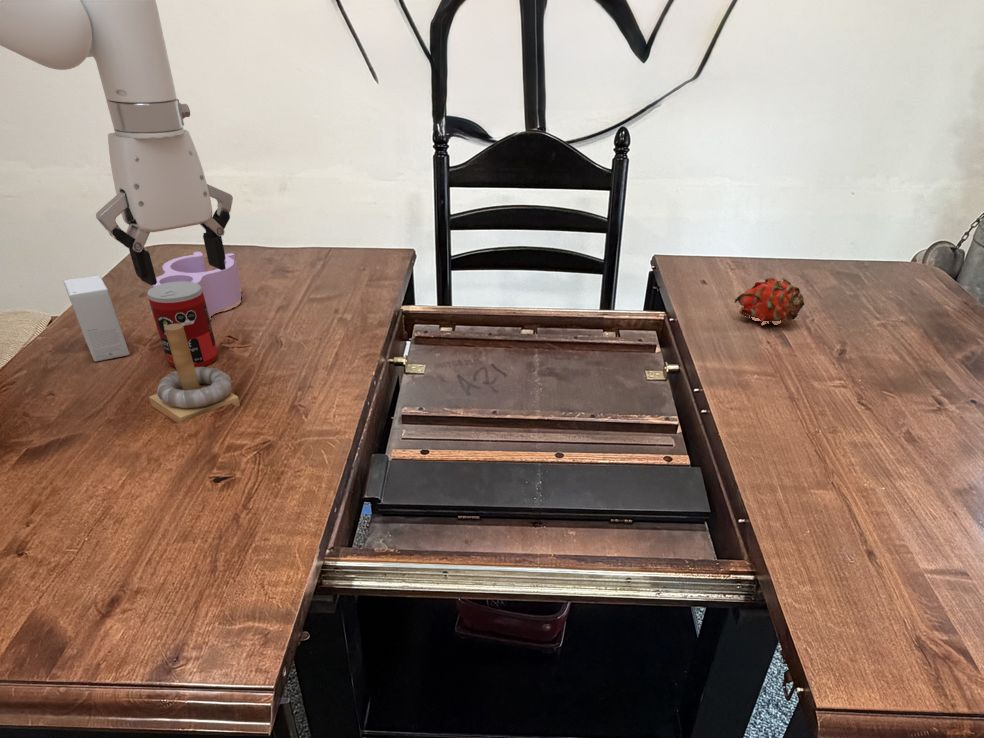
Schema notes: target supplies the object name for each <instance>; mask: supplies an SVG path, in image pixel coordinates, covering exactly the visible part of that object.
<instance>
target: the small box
mask: <svg viewBox="0 0 984 738" xmlns="http://www.w3.org/2000/svg"><path fill="white" fill-rule="evenodd" d="M62 281H63V282H62V283H63V286H64V287H65V290H66V292H67V295H68V298H69V301H70V303H71V307H72V308H73V311H74V314H75V317H76V319H77V322H78V324H79V327H80V330H81V333H82V336H83V338H84V341H85V343H86V345H87V348H88V350H89V353H90V356H91V357H92V360H93V362H96V363H97V362H101V361H107V360H111V359H115V358H121V357H122V358H123V357H127V356H130V355H131V353H130V351H129V348H128V347H129V346H128V344H127V342H126V338H125V336H124V333H123V330H122V326H121V324H120V321H119V318H118V315H117V313H116V310H115V306H114V303H113V300H112V297H111V294H110V291H109V289H108V287H107V285H106V283H105V282H104V280H103V278H102V276H101V275H92V276H91V275H90V276H86V277H77V278H71V279H65V280H62Z"/></svg>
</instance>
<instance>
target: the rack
mask: <svg viewBox="0 0 984 738" xmlns="http://www.w3.org/2000/svg"><path fill="white" fill-rule="evenodd" d="M164 329H165V333H166V336H167V339H168V343H169V346H170V350H171V353H172V356H173V360H174V363H175V367H176V368H175V367H174V368H175V370H176V371H177V373H178V377H179V380H180V384H181V387H182V388H181V389H179V390H195V389H201V388H204V387H207V386H210V385H208V384H199V382H198V378H197V375H196V371H195V367H194V364H193V360H192V356H191V353H190V349H189V345H188V342H187V338H186V335H185V331H184V327H183V325H182V324H169V325H167V326H165V327H164ZM148 399H149V402H150V405H151V407H152V408H154V409H155V410H157V411H158V412H159V413H161V414H163V415H165V416H166V417H167V418H169V419H170V420H171V421H173V422H175V423H176V424H179V423H182V422H184V421H188V420H190V419H191V418H195V417H198V416H201V415H203V414H206V413H208V412H211V411H214V410H218V409H219V408H222V407H226V406H228V405H231V404H232V405H233V406H235V407H237V408H239V407H241V403H240V399H239V396H238V395H236V394H234V393H233V392H232V391H231V392H230V394H229V395H227V396H226V397H225V398H224V399H223V400H221V401H220V402H217V403H214V404H211V405H208V406H205V407H197V408H180V407H173V406H170V405H168V404H167V403H165V402H164V401H162V400H161V399H160V398H159V397H158V395H157V393H156V394H152V395H149V396H148Z"/></svg>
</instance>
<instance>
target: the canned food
mask: <svg viewBox="0 0 984 738" xmlns="http://www.w3.org/2000/svg"><path fill="white" fill-rule="evenodd" d="M147 298H148V302H149V306H150V309H151V311H152V315H153V318H154V319H153V320H154V322H155V325H156V329H157V332H158V335H159V338H160V342H161V345H162V348H163V351H164V355H165V358H166V360H167V362H168V363H169V364H170V366H172V367H173V368H175V369H176V367H175V363H174V360H173V356H172V353H171V350H170V346H169V343H168V339H167V336H166V333H165V329H164V327H165V326H167V325H169V324H182V325H183V327H184V331H185V335H186V338H187V342H188V345H189V349H190V353H191V356H192V360H193V364H194V367H207V366H209V365H211V364H213V363H214V362H215V361H216V360H217V359H218V348H217V344H216V339H215V335H214V331H213V327H212V324H211V321H210V318H209V314H208V310H207V306H206V302H205V298H204V294H203V290H202V288H201V286H200V285H199V284H197V283H194V282H187V281H177V282H168V283H163V284H160V285H157V286H155V287H153V288H152V287H151V288H149V289H148V290H147ZM212 362H213V363H212ZM206 365H207V366H206Z"/></svg>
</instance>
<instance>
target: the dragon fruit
mask: <svg viewBox="0 0 984 738" xmlns="http://www.w3.org/2000/svg"><path fill="white" fill-rule="evenodd" d="M781 280H782V281H781ZM781 280H776V279H775V278H773V277H767V278H764V281H757V282H755V283H754V285H753V286H752V287H751V288H749V289H747V290H746V291H744V292H742V293H740V294H739V295H738V296H737V297H736V298H735V299H734V304H736V303H737V302H738V304H739V305H740V306H742V308H740V309H739V314H740V315H741V316H742V315H744V316H746V317H749V315H750V318H751V317H755V318H759V319H760V320H761V321H760V323H761V322H763V321H769V322H772V321H780V320H781V321H782V320H783V321H788V322H789V321H790V322H791V321H793V320H795V319H796V318H797V317H798V316H799V313H800V311H801V310H802V308H803V307H804V306H805V305H806V304H805V302H804V300H805V299H804V296H803V294H802V293H801V289H800V288H799V287H798V286H794V285H793V284H792V283H791V281H789V280H788V279H787V278H786V277H782V278H781ZM744 316H743V317H744ZM783 321H782V322H783Z"/></svg>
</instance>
